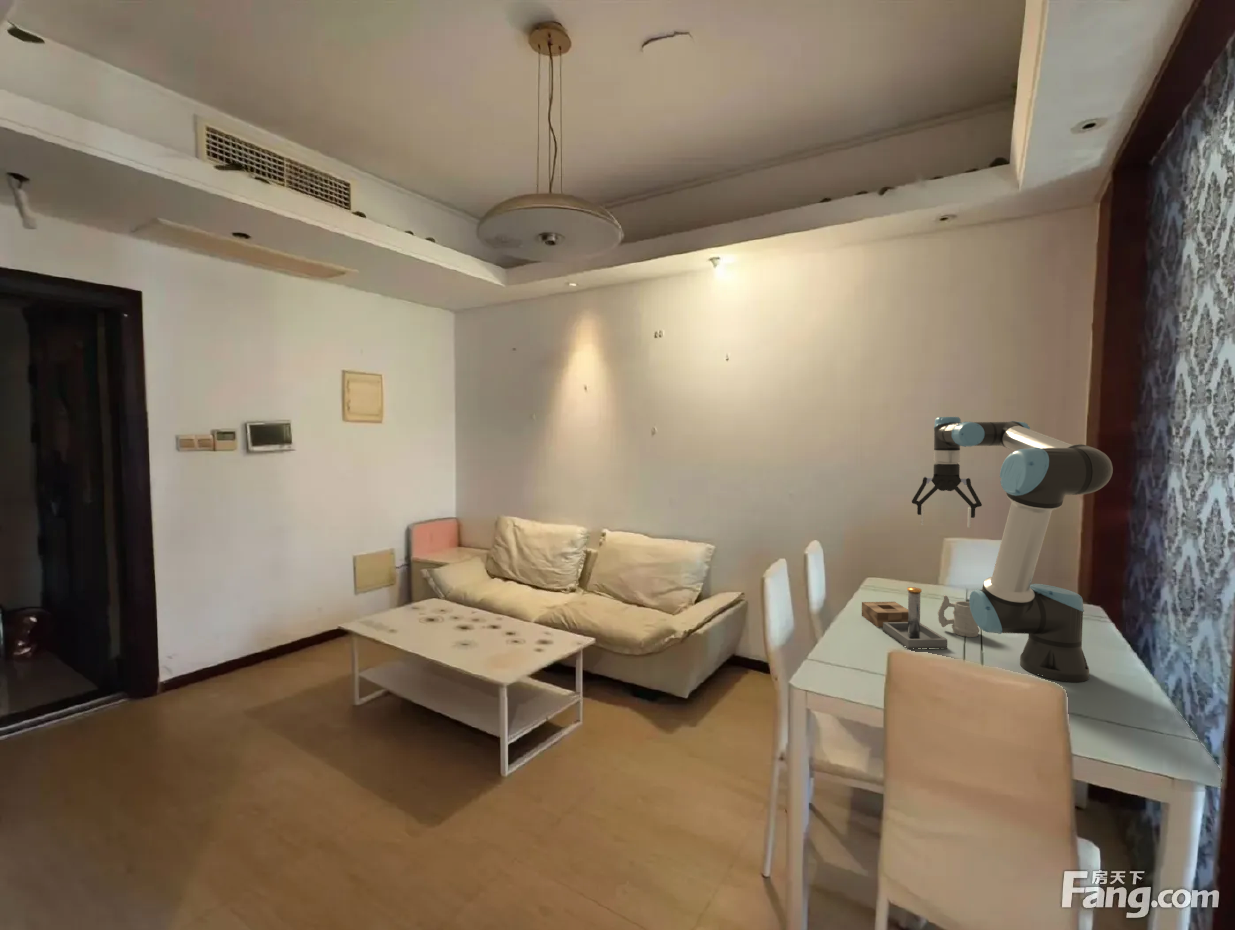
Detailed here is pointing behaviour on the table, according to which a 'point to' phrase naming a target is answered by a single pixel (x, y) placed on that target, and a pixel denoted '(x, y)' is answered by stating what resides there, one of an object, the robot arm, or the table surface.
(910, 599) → the pin
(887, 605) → the block
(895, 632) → the tray
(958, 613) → the mug
